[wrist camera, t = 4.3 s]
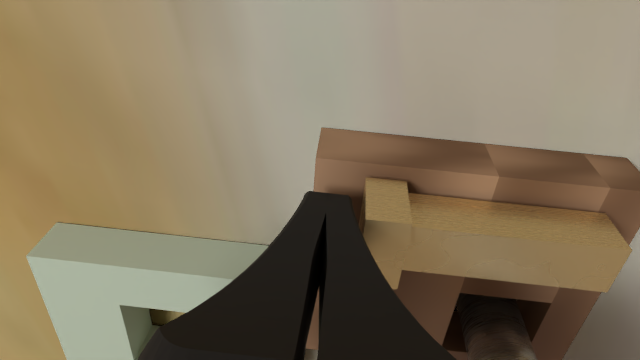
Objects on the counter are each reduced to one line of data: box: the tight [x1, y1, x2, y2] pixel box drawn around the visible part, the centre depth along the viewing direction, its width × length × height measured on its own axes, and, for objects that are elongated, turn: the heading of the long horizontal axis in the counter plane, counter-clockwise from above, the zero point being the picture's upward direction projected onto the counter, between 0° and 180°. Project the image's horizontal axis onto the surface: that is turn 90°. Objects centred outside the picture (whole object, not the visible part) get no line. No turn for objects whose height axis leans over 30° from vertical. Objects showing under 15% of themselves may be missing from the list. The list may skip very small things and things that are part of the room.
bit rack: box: [26, 223, 268, 360], centre depth 20 cm, size 10×8×2 cm
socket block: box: [306, 128, 640, 360], centre depth 17 cm, size 10×9×2 cm
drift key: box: [359, 177, 632, 292], centre depth 13 cm, size 7×2×2 cm, turn 86°
